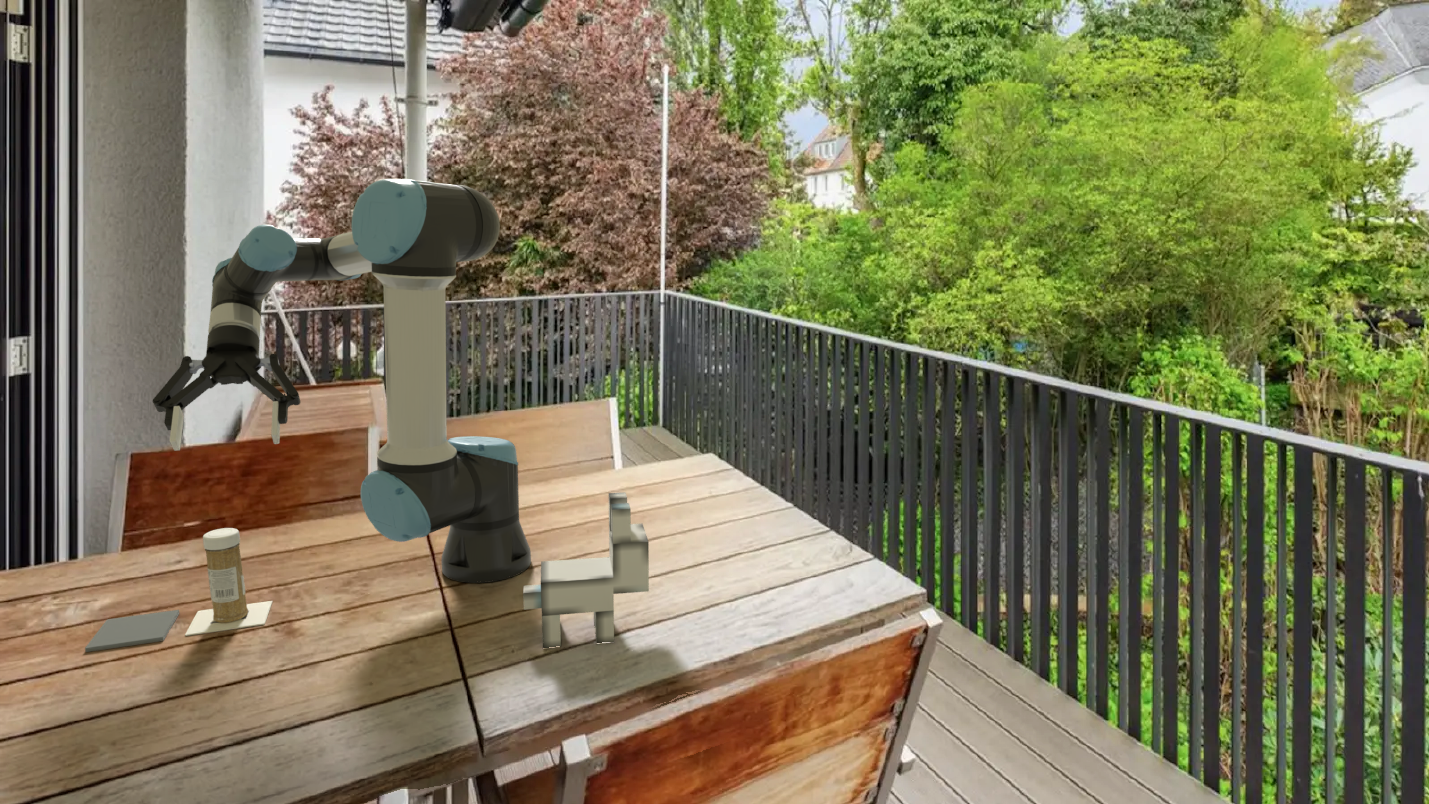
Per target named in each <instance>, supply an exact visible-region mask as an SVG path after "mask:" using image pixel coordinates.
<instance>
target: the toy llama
mask: <svg viewBox="0 0 1429 804" xmlns="http://www.w3.org/2000/svg"><path fill="white" fill-rule="evenodd" d="M631 509H632V508H631V506H630V503H629V502H628V496H627V492H608V539H609V541H608V546H609V547H608V548H609V549H608V550H609V552H608V553H609V555H608V556H604V557H590V558H589V557H588V558H587V557H586V558H574V559H572V558H571V559H562V560H561V559H560V560H559V559H557V560H545V561H540V563H541V564H540V584H532V585H531V584H529V585H523V589H522V590H523V591H522V592H523V593H522V595H523V597H522V598H523V610H535V609H541V610H540V611H541V631H542V633H541V636H542V637H541V641H542V642H541V643H542V649H543V648H549V647H556V646H561V645H562V644H561V643H562V641H561V638H562V637H561V636H562V635H561V616H562V615H573V614H584V613H585V614H586V613H593V626H595V627H594V630H595V634H596V635H595V642H596V643H602V642H614V643H615V630H614V629H615V622H614V621H615V616H614V615H615V610H614V609H615V608H614V603H615V602H614V601H615V600H614V595H617V594H618V595H619V594H630V593H632V594H633V593H643V592H645V593H646V592H650V590H649V589H650V587H649V585H650V583H649V581H650V579H649V578H650V575H649V574H650V572H649V571H650V568H649V564H650V563H649V562H650V561H649V553H650V552H649V551H650V549H649V546H650V545H649V542H650V541H649V539H648V535H647V533H646V529H645V527H644V524H643V523H631V519H632V518H631ZM596 643H595V644H596ZM561 647H562V646H561Z"/></svg>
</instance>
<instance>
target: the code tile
mask: <svg viewBox="0 0 1429 804" xmlns="http://www.w3.org/2000/svg"><path fill="white" fill-rule="evenodd" d="M246 604H247V609H248V613H247V615H246V616H244V617H243V618H241V619H239V620H236V621H232V622H227V623H220V622H216V621H214V620H213V615H214V612H213V608H209V609H202V610H197V612H196V614H195V616H194V617H193V619H192V621H191V623H190V625H189V627H187V630H186V632H185V634H184V636H185V637H189V636H196V635H202V634H208V633H215V632H224V631H228V630H230V631H231V630H236V629H241V628H242V629H244V628H249V627H251V628H252V627H257V626H265V624H266V622H267V619H268V616H269V613H270V610H271V607H272V604H273V600H269V601H262V602H261V601H260V602H259V601H258V602H254V603H246Z"/></svg>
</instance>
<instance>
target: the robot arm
mask: <svg viewBox="0 0 1429 804" xmlns="http://www.w3.org/2000/svg"><path fill="white" fill-rule="evenodd" d="M496 209H497V208H496V206H494V204H493V203H492V202H491V200H490V199H489V198H488V197H487V196H485V195H484V194H483V193H481V192H480V191H479V190H477V189H475V188H472V187H469V186H467V185H462V184H449V183H439V182H432V181H425V180H416V179H410V178H402V179H401V178H385V179H384V178H383V179H379V180H376V181H374V182H372V183H371V184H369V185H368V186H367V187H366V188H365V189H364V190H363V193H361V194H360V195H359V196H358V198H357V200H356V202H355V204H354V208H353V212H352V214H351V215H352V217H351V231H348V232H345V233H342V234H341V233H340V234H338V235H334V236H333V235H332V236H329V237H326V238H325V237H324V238H302V237H292V236H291V234H289V233H288V232H287V231H286V230H285V229H283V228H279V227H278V228H277V227H275V226H274V225H272V224H260V225H256V226H255V227H253V228H252V229H251V230H250V231H249V233H248V234H246V236H245V237H244V238H243V239H242V240H241V241H240V243H239V245H238V248H237V249H236V251H235V252H234V254H233V256H232V257H229V258H227V259H225V260H221V261H220V262H218V264H217V265H216V267H215V270H214V275H213V277H212V278H211V279H212V280H211V283H212V290H211V291H212V292H211V293H212V294H211V303H210V315H209V323H208V330H207V331H208V335H207V342H206V351H205V356H204V357H203V359H192V357H191V356H189V355H184V356H183V357H182V359H181V361H180V365H179V368H178V369H177V370H176V371H175V372H174V374H173V375H172V376H171V377H170V379H169V380H167V382H166V383H165V384H164V385H163V387H162V388H161V389H160V390H159V392H157V394H156V395H155V396H154V398H153V399H152V403H153V406H154V407H155V409H156V411H157V413H163V412H165V415H164V425H165V428H166V430H167V431H170V434H169V435H170V436H169V443H170V445H171V447H172V449H173V451H176V452H177V451H181V443H182V437H183V436H182V435H183V426H184V419H185V418H184V417H185V414H184V413H183V410H184V409H185V408H187V407H188V406H190V404H192V403H193V402H194V401H195V400H196V399H198V398H199V397H200V396H201V395H203V394H204V393H205V392H206V391H208V390H209V389H213V388H214V387H215V386H216V385H218V384H221V385H225V386H226V385H230V384H234V385H243V384H244V383H246V382H248V383H249V384H250V385H252V387H254V388H256V389H258V391H260V392H261V393H263V394H264V395H265V396H266V398H268V399H270V400H271V402H272V410H271V413H272V414H271V429H270V431H271V432H270V433H271V434H270V435H271V438H272V442H273V444H274V445H278V444H280V438H281V437H280V434H281V425H284V424H285V425H286V424H287V422H288V421H289V420H288V417H289V416H288V415H289V414H288V412H289V408H290V407H291V406H299V405H301V398H300V394H299V392H298V390H297V389H296V387H295V386H294V385H293V382H291V380H290V379H289V377H288V376H287V374H286V373H285V371H284V370H283V368H282V367H281V364H280V361H279V356H278V354H276V353H271V354H269V356H268V357H261V358H260V357H259V356H260V340H261V339H260V338H261V337H260V336H261V319H262V306H263V300H264V299H265V298H266V296H267V295H268V293H269V292H270V291H271V290H272V288H273V287H274V286H275V285H276V283H278V282H303V281H305V282H306V281H348V280H355V279H357V278H360V277H362V276H361V275H362V274H367V273H371V274H372V276H374V277H375V278H376V279H377V280H378V281H379V282H380V283H381V285H382V286H383V314H384V315H383V316H384V317H383V318H384V355H385V357H384V358H385V360H384V361H385V389H386V390H385V394H386V395H385V396H386V402H385V403H386V430H387V431H386V435H387V436H386V437H387V440H386V443H385V444H384V445H382V447H380V448H379V450H378V451H377V453H376V457H377V460H376V461H377V463H376V465H377V466H376V467H377V470H374V471H372V472H370V473H369V474H367V475H366V476H365V477H364V480H363V481H362V482H361V486H360V500H361V504H362V509H363V511H364V513H365V515H366V518H367V519H368V521H369V522H370V523H371V524H372V526H373V527H374V529H376V531H378V533H380V534H381V535H382V536H383V537H385V538H387V540H390V541H394V542H397V543H398V542H399V543H400V542H401V543H402V542H408V541H411V540H414V539H420V538H424V537H427V536H428V535H429V534H432V533H434V532H437V531H439V530H442V529H444V528H447V527H449V529H448V530H449V531H448V533H447V537H446V540H445V545H444V548H443V551H442V553H441V554H442V555H441V560H440V561H441V571H442V574H443V575H444V577H447V578H448V579H450V580H453V581H456V582H461V583H468V584H469V583H471V584H474V583H475V584H477V583H478V584H480V583H481V584H482V583H483V584H484V583H491V582H498V581H503V580H506V579H509V578H513V577H515V576H517V575H519V574H521V573H524V572H525V571H526V570H527V569H529V567H530V565H531V563H532V559H531V558H532V557H531V556H532V555H531V548H530V545H529V543H528V540H527V537H526V534H525V532H524V529H523V527H522V524H521V522H520V507H519V506H520V504H519V503H520V502H519V501H520V500H519V497H520V496H519V467H518V466H519V462H518V456H517V449H516V446H515V445H514V443H513V442H512V441H510V440H508V439H504V438H498V437H491V436H479V435H478V436H475V435H474V436H473V435H472V436H470V435H469V436H456V437H451V438H448V439H447V434H448V433H447V341H446V340H447V339H446V337H447V333H446V331H447V329H446V328H447V326H446V325H447V322H446V320H447V319H446V317H447V315H446V314H447V313H446V312H447V311H446V305H447V304H446V288H447V287H448V286H449V284H451V283H452V282H453V280H454V279H456V278H457V263H459V262H461V263H462V262H463V263H464V262H471V261H476V260H478V259H482V257H484V256H486V255H487V254H488V253H489V252H491V251H492V249H493V248H494V247H495V245H496V244H497V241H498V239H499V236H500V229H501V223H500V218H499V215H498V211H497V210H496ZM262 367H264V368H265V369H266V370H267V371H269V372H272V374H273V377H274V379H276V381H277V383H278V384H279V385H280V387H281V389H282V390H283V391H284V393H283V392H281V391H280V390H279V389H277V388H276V387H275V386H274V385H273V384H272V383H270V381H268V380H267V379H266V378H265V377H264V376H262V375H261V374H260V373H259V370H260V369H261V368H262ZM201 369H203V370H202V371H201V372H199V375H198V377H196V378H195V379H193V380H192V381H191V382H190V383H189V381H190V380H191V378H192V377H193V375H196V374H197V372H198V371H199V370H201ZM188 383H189V384H188Z"/></svg>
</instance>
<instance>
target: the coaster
mask: <svg viewBox="0 0 1429 804" xmlns="http://www.w3.org/2000/svg"><path fill="white" fill-rule="evenodd" d="M179 615H180V609H173V610H166V611H159V612H152V613H143V614H137V615H130V616H128V615H127V616H124V617H114V618H108V619H106V620H105V621H104V623H103V624H102V626H100V628H99V629H98V631H97V632H96V633H95V634H94V636H93V637H92V639H91V640H90V641H89V642H88V643H87V645H86V646H85V648H84V651H85V653H89V652H98V651H103V650H111V649H117V648H123V647H130V646H138V645H144V644H150V643H158V642H164V640H165V639H166V637H167V635H168V634H169V632H170V631H171V628H172V627H173V625H174V624H175V622H176V620H177V618H178V617H179ZM169 630H170V631H169Z"/></svg>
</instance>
